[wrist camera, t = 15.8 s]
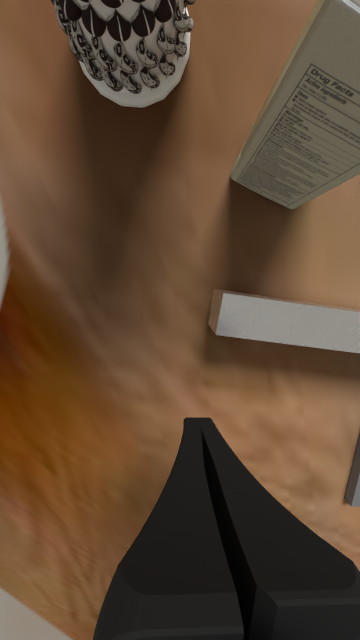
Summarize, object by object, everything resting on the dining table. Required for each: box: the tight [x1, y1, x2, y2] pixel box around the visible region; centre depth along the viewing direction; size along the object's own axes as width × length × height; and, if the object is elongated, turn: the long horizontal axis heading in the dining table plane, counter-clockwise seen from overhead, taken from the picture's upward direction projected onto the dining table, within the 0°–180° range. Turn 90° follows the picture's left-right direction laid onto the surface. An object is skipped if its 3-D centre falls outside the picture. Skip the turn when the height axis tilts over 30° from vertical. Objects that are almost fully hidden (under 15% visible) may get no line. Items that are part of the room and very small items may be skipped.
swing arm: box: [208, 289, 360, 353], centre depth 17 cm, size 20×3×3 cm, turn 82°
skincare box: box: [230, 0, 360, 209], centre depth 12 cm, size 6×4×12 cm
